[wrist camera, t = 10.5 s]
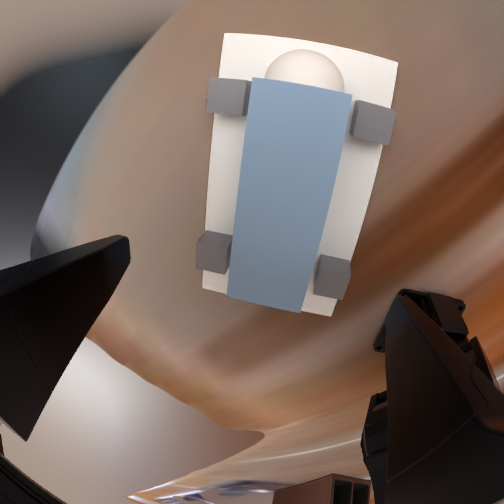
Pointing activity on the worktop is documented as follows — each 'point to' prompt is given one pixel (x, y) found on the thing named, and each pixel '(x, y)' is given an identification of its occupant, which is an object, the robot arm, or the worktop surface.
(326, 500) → the letter holder
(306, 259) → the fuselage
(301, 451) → the worktop surface
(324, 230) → the cradle
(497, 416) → the robot arm
